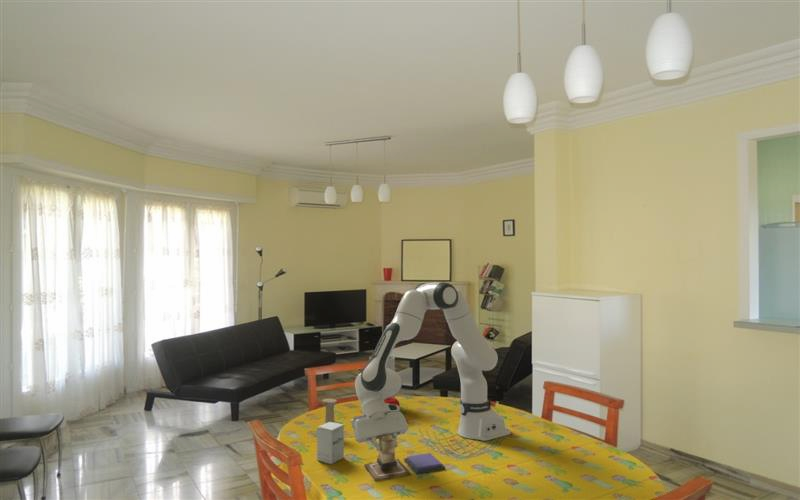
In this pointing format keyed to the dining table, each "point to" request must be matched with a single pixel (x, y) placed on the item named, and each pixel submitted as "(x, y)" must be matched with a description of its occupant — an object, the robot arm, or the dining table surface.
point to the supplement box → (330, 442)
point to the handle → (329, 409)
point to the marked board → (387, 471)
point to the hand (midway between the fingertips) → (387, 448)
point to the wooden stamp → (387, 452)
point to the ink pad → (424, 463)
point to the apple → (392, 401)
